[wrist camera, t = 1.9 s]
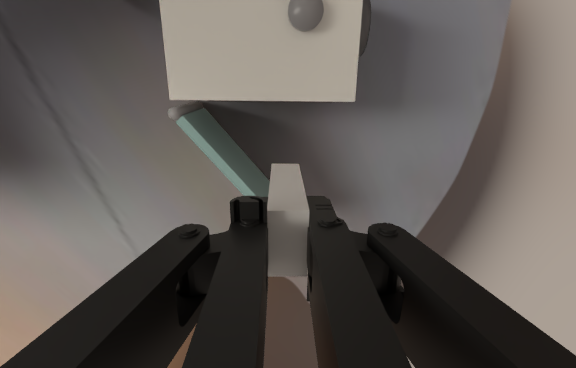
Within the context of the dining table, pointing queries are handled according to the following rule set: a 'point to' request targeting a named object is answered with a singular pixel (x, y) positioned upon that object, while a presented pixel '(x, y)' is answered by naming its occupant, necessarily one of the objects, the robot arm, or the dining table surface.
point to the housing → (264, 49)
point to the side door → (220, 148)
